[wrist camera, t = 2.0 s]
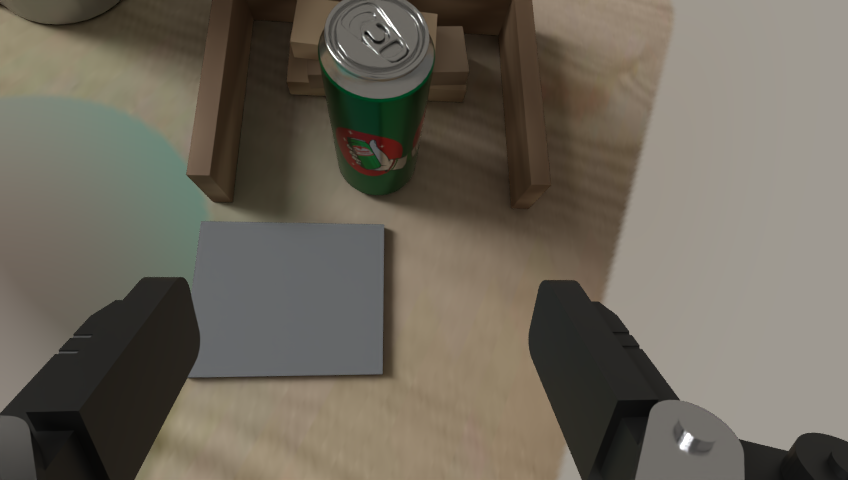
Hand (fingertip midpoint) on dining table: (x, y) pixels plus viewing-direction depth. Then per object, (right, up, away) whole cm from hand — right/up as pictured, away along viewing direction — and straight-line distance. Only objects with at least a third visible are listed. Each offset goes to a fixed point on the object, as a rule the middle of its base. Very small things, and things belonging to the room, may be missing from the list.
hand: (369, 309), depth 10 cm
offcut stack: (-2, +13, +21) cm, 25 cm away
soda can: (-2, +7, +19) cm, 20 cm away
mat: (-7, -2, +16) cm, 17 cm away
